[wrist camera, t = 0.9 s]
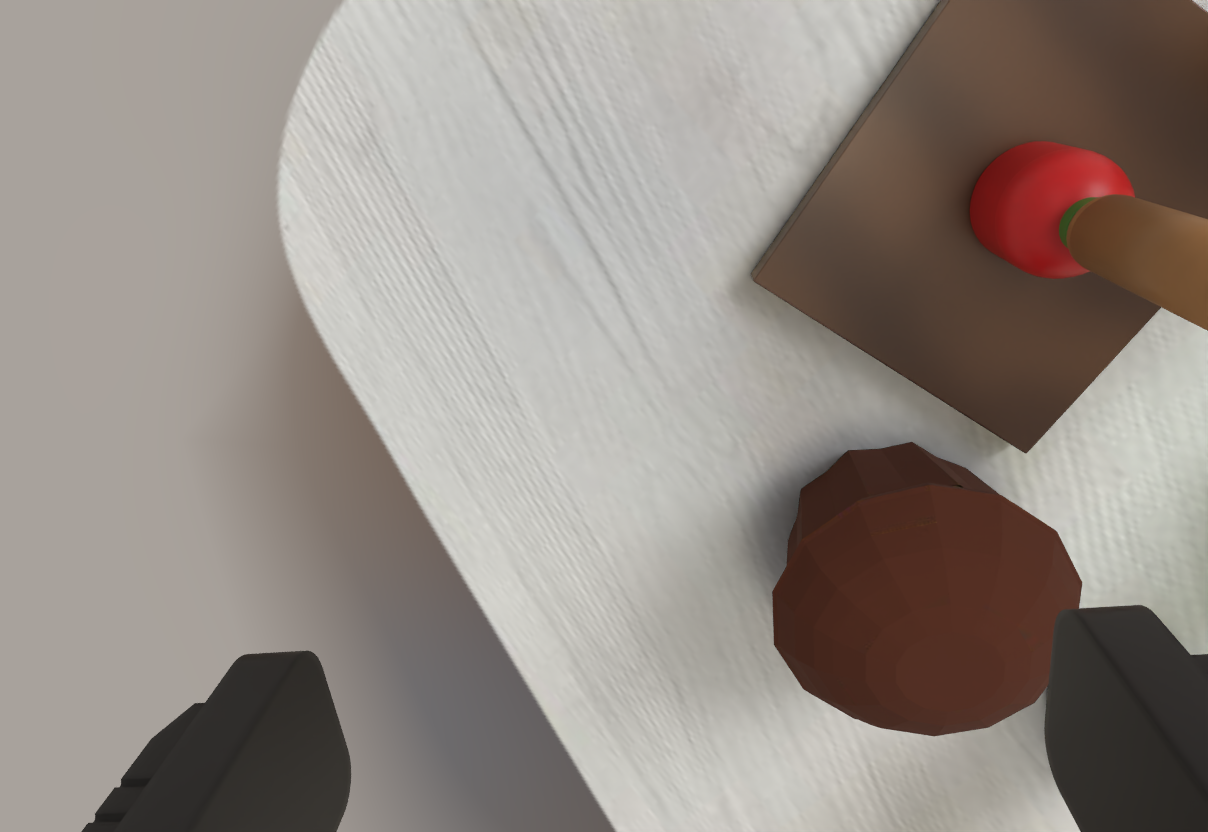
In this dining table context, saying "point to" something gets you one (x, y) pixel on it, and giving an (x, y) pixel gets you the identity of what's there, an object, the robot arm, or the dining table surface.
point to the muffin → (919, 594)
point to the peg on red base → (1090, 226)
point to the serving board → (947, 180)
